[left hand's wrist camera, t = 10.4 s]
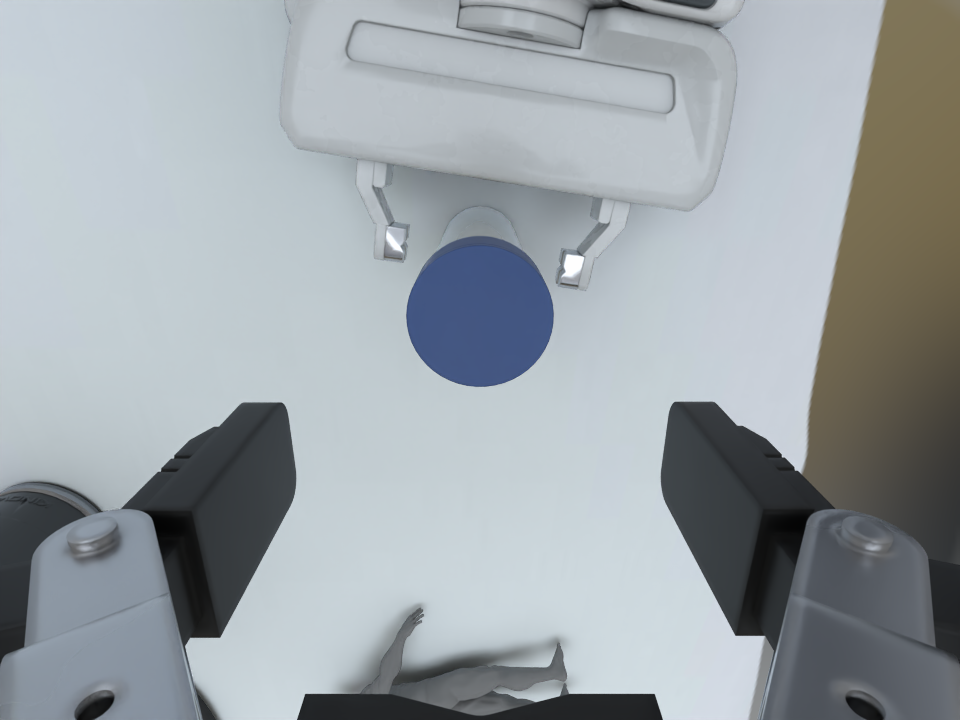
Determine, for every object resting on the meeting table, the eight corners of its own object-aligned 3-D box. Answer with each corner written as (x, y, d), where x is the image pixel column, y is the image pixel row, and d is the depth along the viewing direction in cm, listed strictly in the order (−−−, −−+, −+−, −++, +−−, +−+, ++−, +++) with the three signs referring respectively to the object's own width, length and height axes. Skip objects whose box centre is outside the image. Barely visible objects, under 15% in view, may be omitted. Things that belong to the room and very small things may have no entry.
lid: (463, 387, 23) (462, 411, 20) (386, 286, 21) (376, 300, 19) (571, 319, 21) (581, 337, 19) (498, 207, 20) (500, 214, 18)
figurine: (551, 582, 45) (309, 624, 45) (561, 623, 41) (296, 669, 41) (571, 724, 51) (358, 760, 51) (582, 772, 47) (350, 812, 47)
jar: (470, 293, 36) (464, 398, 21) (428, 234, 34) (388, 299, 19) (530, 253, 35) (569, 331, 20) (489, 190, 33) (497, 223, 18)
